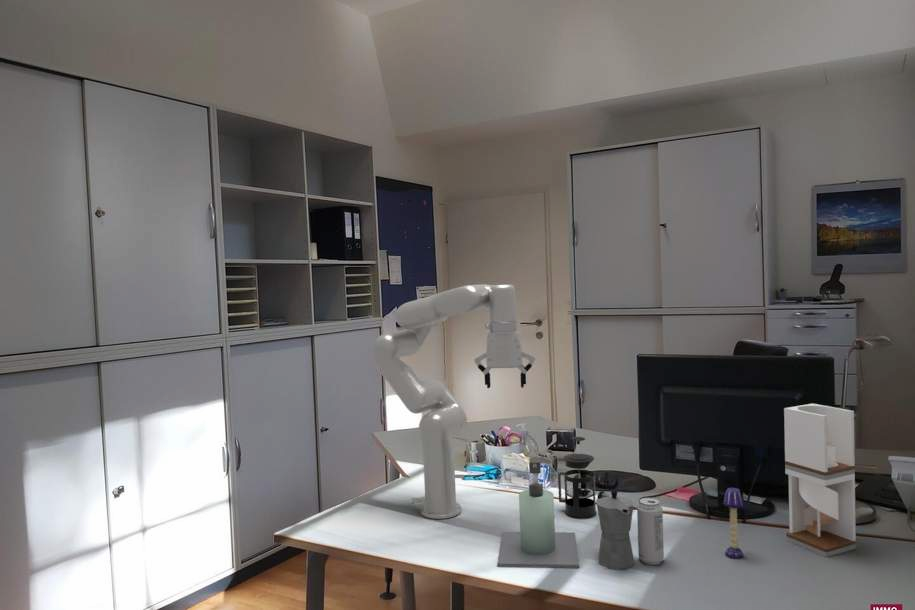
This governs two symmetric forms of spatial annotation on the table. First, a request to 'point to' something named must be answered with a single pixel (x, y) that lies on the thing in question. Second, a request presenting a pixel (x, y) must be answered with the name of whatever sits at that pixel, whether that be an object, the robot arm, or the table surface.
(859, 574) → the table surface
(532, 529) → the dispenser bottle
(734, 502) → the toy lamp
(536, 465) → the pump head
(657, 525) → the energy drink can
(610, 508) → the coffeepot
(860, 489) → the table surface
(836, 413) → the white architectural model
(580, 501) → the french press
